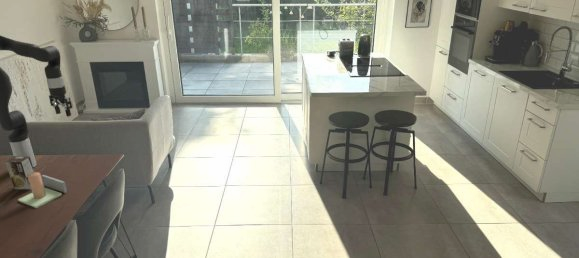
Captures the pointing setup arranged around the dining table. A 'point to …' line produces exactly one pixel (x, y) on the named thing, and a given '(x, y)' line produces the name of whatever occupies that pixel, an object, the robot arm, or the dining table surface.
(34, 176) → the peach rounded cylinder
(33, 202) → the pad
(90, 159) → the dining table surface
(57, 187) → the low wall
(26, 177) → the coffee box
